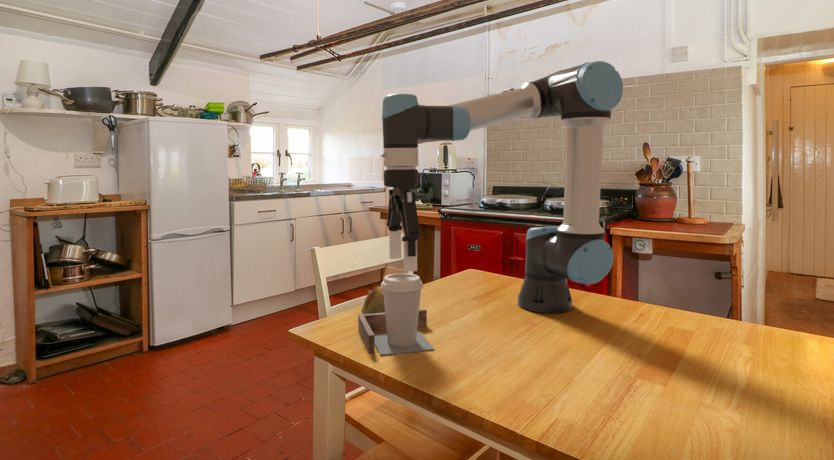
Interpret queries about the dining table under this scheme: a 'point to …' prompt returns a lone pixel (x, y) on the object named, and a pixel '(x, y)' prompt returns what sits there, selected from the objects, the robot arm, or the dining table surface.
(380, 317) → the walnut corner walls
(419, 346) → the pad
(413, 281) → the coffee cup
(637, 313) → the dining table surface
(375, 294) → the pastry
